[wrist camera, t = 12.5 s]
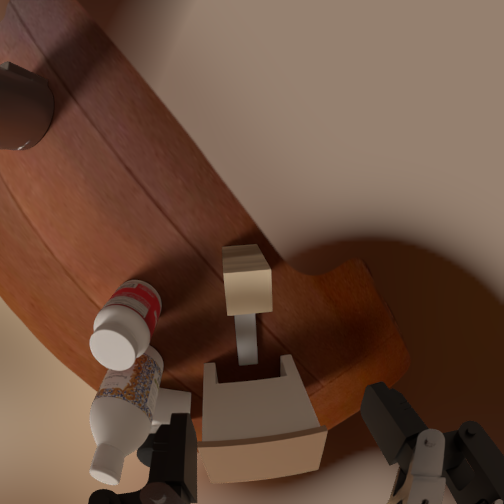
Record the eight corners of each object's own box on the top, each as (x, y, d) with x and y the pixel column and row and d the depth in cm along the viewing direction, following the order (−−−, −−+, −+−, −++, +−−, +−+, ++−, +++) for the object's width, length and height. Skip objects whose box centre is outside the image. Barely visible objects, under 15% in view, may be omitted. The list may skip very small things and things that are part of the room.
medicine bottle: (146, 413, 38) (134, 470, 26) (144, 383, 36) (128, 444, 24) (189, 420, 39) (186, 478, 27) (191, 391, 37) (187, 454, 26)
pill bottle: (147, 331, 34) (126, 386, 23) (109, 304, 32) (74, 352, 22) (172, 297, 33) (154, 348, 22) (130, 268, 31) (96, 309, 21)
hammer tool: (221, 246, 32) (223, 273, 23) (256, 244, 32) (271, 269, 24) (233, 360, 36) (238, 407, 28) (262, 357, 37) (273, 403, 28)
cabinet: (200, 361, 36) (197, 447, 21) (293, 351, 37) (327, 430, 23) (209, 404, 38) (211, 483, 24) (292, 394, 39) (318, 469, 25)
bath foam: (154, 335, 34) (116, 462, 15) (171, 375, 36) (153, 497, 17) (110, 341, 33) (55, 453, 14) (128, 379, 35) (94, 490, 16)
